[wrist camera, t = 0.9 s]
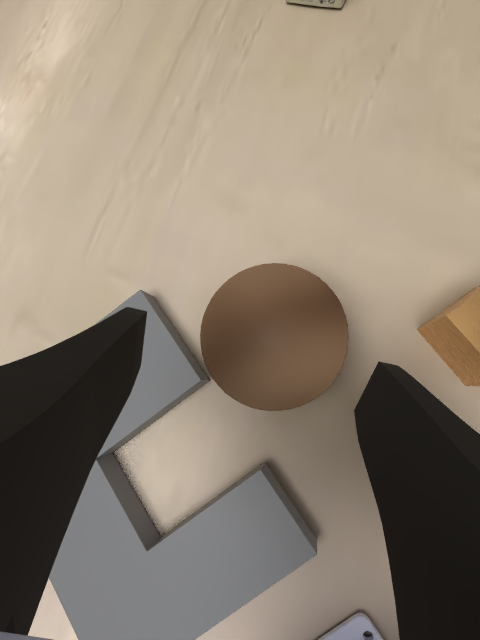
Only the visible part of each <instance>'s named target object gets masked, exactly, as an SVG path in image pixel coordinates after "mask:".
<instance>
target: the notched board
mask: <svg viewBox="0 0 480 640" xmlns="http://www.w3.org/2000/svg"><path fill="white" fill-rule="evenodd" d="M125 307H130V308H135V309H140V310H144V311H147V319H146V327H145V336H144V344H143V353H142V361H141V367H140V370H139V373H138V375H137V378H136V381H135V384H134V386H133V389H132V391H131V394H130V396H129V398H128V400H127V402H126V404H125V405H124V407H123V409H122V411H121V413H120V415H119V417H118V419H117V421H116V422H115V424H114V426H113V428H112V430H111V432H110V434H109V436H108V437H107V439H106V441H105V443H104V445H103V447H102V449H101V451H100V452H99V454H98V456H97V458H96V460H95V463H94V465H93V467H92V469H91V471H90V473H89V476H88V478H87V481H86V483H85V486H84V488H83V491H82V493H81V495H80V498H79V500H78V503H77V505H76V508H75V510H74V513H73V515H72V518H71V520H70V523H69V526H68V528H67V531H66V533H65V536H64V538H63V541H62V543H61V546H60V549H59V551H58V554H57V557H56V559H55V562H54V565H53V567H52V570H51V573H50V575H49V579H50V581H51V583H52V585H53V587H54V589H55V591H56V593H57V595H58V598H59V600H60V602H61V604H62V606H63V608H64V610H65V612H66V614H67V617H68V619H69V621H70V623H71V625H72V627H73V629H74V631H75V633H76V635H77V638H78V640H195V639H196V638H198V637H199V636H201V635H202V634H204V633H205V632H206V631H208V630H209V629H211V628H212V627H214V626H215V625H216V624H218V623H219V622H221V621H222V620H224V619H225V618H226V617H228V616H229V615H231V614H232V613H234V612H235V611H236V610H238V609H239V608H241V607H242V606H244V605H245V604H246V603H248V602H249V601H251V600H252V599H254V598H255V597H256V596H258V595H259V594H261V593H262V592H264V591H265V590H267V589H268V588H269V587H271V586H272V585H274V584H275V583H277V582H278V581H279V580H281V579H282V578H284V577H285V576H287V575H288V574H289V573H291V572H292V571H294V570H295V569H297V568H298V567H299V566H301V565H302V564H304V563H305V562H307V561H308V560H309V559H311V558H312V557H314V556H315V555H317V538H316V537H315V536H314V534H313V533H312V531H311V530H310V528H309V527H308V525H307V524H306V522H305V521H304V519H303V518H302V516H301V515H300V513H299V512H298V510H297V509H296V507H295V506H294V504H293V503H292V501H291V500H290V498H289V497H288V495H287V494H286V492H285V491H284V490H283V488H282V487H281V485H280V484H279V482H278V481H277V479H276V478H275V476H274V475H273V473H272V472H271V470H270V469H269V467H268V466H267V464H266V463H265V462H264V463H263V464H261V465H260V466H259V467H257V468H256V469H255V470H253V471H252V472H250V473H249V474H248V475H246V476H245V477H244V478H242V479H241V480H239V481H238V482H237V483H235V484H234V485H232V486H231V487H230V488H228V489H227V490H226V491H224V492H223V493H221V494H220V495H219V496H217V497H216V498H214V499H213V500H212V501H210V502H209V503H208V504H206V505H205V506H203V507H202V508H201V509H199V510H198V511H197V512H195V513H194V514H192V515H191V516H190V517H188V518H187V519H185V520H184V521H183V522H181V523H180V524H179V525H177V526H176V527H174V528H173V529H172V530H170V531H169V532H167V533H166V534H165V535H163V536H162V537H160V535H159V533H158V531H157V530H156V528H155V526H154V524H153V523H152V521H151V519H150V517H149V515H148V514H147V512H146V510H145V508H144V507H143V505H142V503H141V501H140V500H139V498H138V496H137V494H136V493H135V491H134V489H133V487H132V485H131V484H130V482H129V480H128V478H127V477H126V475H125V473H124V471H123V470H122V468H121V466H120V464H119V463H118V461H117V459H116V457H115V455H114V454H113V452H114V451H116V450H117V449H118V448H120V447H121V446H122V445H124V444H125V443H127V442H128V441H129V440H131V439H132V438H133V437H135V436H136V435H137V434H139V433H140V432H141V431H143V430H144V429H145V428H147V427H148V426H149V425H151V424H152V423H153V422H155V421H156V420H157V419H159V418H160V417H161V416H163V415H164V414H165V413H167V412H168V411H169V410H171V409H172V408H173V407H175V406H176V405H177V404H179V403H180V402H181V401H183V400H184V399H185V398H187V397H188V396H189V395H191V394H192V393H193V392H195V391H196V390H198V389H199V388H200V387H202V386H203V385H204V384H206V383H207V382H208V381H210V380H209V378H208V377H207V375H206V374H205V372H204V371H203V369H202V368H201V366H200V365H199V363H198V362H197V360H196V359H195V358H194V356H193V355H192V353H191V352H190V350H189V349H188V347H187V346H186V344H185V343H184V341H183V340H182V338H181V337H180V335H179V334H178V332H177V331H176V329H175V328H174V326H173V325H172V323H171V322H170V320H169V319H168V317H167V316H166V314H165V313H164V312H163V310H162V309H161V307H160V306H159V304H158V303H157V301H156V300H155V298H154V297H153V296H151V295H150V294H148V293H146V292H144V291H142V290H139V291H138V292H137V293H135V294H134V295H133V296H131V297H130V298H129V299H128V300H126V301H125V302H124V303H122V304H121V305H120V306H119V307H117V308H116V309H115V310H113V311H112V312H111V313H110V314H108V315H107V316H106V317H104V318H103V319H102V320H100V321H99V322H101V321H103V320H104V319H106V318H108V317H110V316H111V315H113V314H115V313H117V312H118V311H120V310H122V309H124V308H125ZM99 322H98V323H99ZM95 325H96V324H95Z"/></svg>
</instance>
